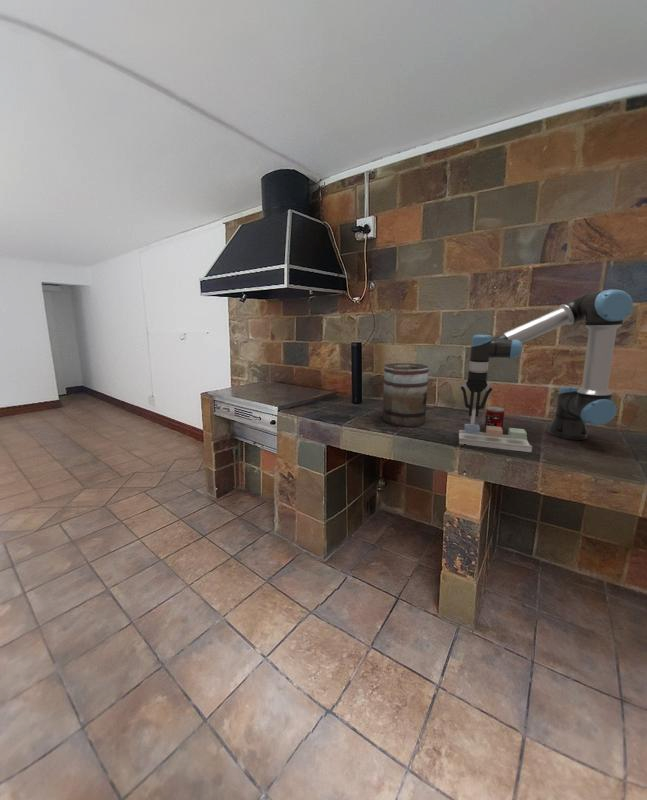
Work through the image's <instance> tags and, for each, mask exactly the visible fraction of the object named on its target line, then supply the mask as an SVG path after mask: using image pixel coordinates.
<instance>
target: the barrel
mask: <svg viewBox="0 0 647 800" xmlns="http://www.w3.org/2000/svg"><path fill="white" fill-rule="evenodd" d="M429 367H430V366H429V365H426V364H420V363H409V362H407V363H406V362H405V363H402V362H401V363H400V362H397V363H387V364H384V368H383V370H384V371H383V373H384V374H383V377H384V378H383V398H382V422H383V423H384V424H386V425H389V426H392V427H397V428H408V429H409V428H418V427H422V426H423V425H425V423H426V411H427V410H426V409H427V400H428V399H427V397H428V383H429V369H430V368H429Z"/></svg>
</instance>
